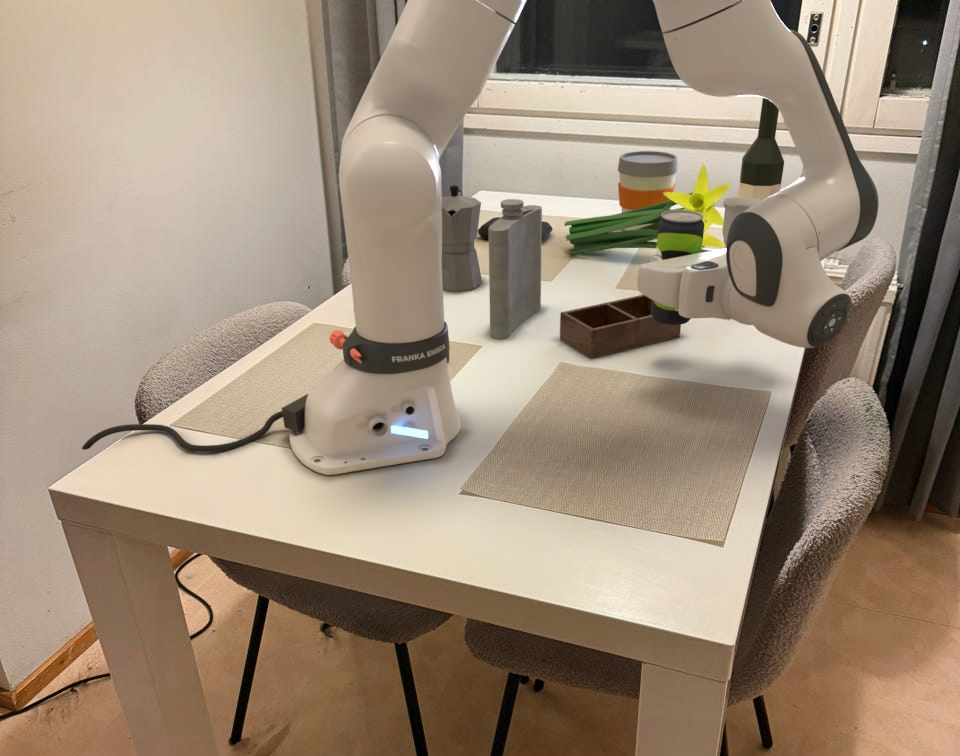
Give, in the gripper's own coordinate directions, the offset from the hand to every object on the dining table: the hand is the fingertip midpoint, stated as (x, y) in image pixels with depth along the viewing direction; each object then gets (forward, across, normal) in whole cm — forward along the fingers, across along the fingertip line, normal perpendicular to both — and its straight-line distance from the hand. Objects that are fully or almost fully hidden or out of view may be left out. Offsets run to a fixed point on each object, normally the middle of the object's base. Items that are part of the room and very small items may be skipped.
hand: (672, 256), depth 127 cm
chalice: (+12, -24, +16) cm, 31 cm away
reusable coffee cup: (+60, -41, +16) cm, 74 cm away
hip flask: (+26, +11, +16) cm, 33 cm away
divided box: (+11, 0, +16) cm, 20 cm away
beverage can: (-1, 0, +9) cm, 9 cm away
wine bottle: (+39, -53, +16) cm, 67 cm away
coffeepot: (+49, +10, +16) cm, 53 cm away
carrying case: (+69, -14, +16) cm, 72 cm away
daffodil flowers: (+41, -26, +16) cm, 51 cm away
